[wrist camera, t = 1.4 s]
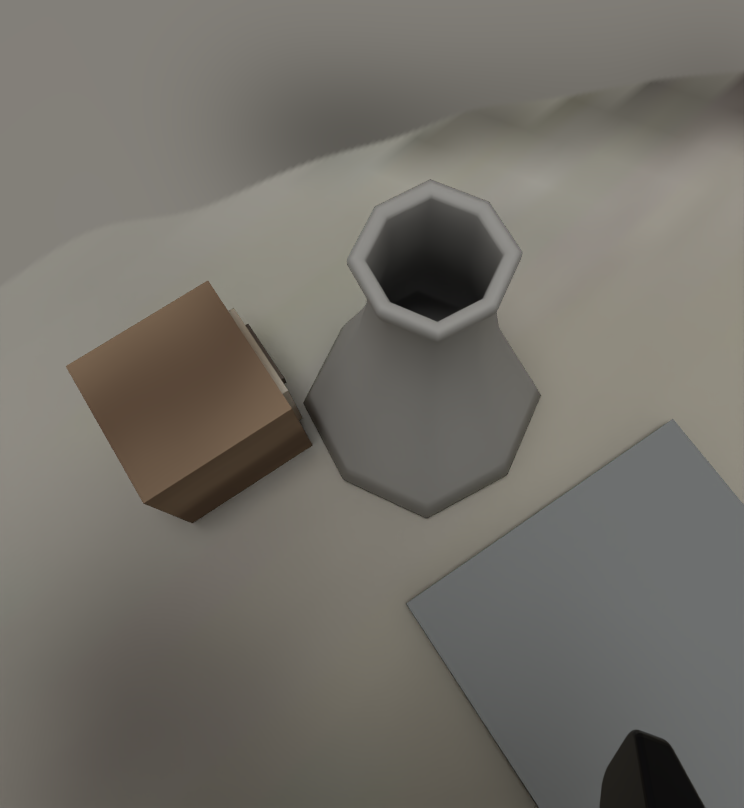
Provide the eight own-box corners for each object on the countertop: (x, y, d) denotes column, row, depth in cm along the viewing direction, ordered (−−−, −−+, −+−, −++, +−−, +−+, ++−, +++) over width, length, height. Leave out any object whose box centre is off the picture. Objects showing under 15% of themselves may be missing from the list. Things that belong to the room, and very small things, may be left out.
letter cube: (320, 440, 23) (301, 402, 19) (193, 523, 23) (143, 503, 18) (250, 333, 24) (217, 274, 20) (127, 410, 24) (65, 366, 19)
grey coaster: (898, 707, 20) (912, 710, 20) (618, 929, 19) (624, 938, 18) (666, 423, 23) (672, 418, 22) (406, 603, 22) (406, 603, 21)
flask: (415, 260, 25) (423, 38, 15) (579, 396, 23) (704, 243, 14) (265, 406, 23) (171, 265, 14) (428, 560, 22) (448, 522, 12)
